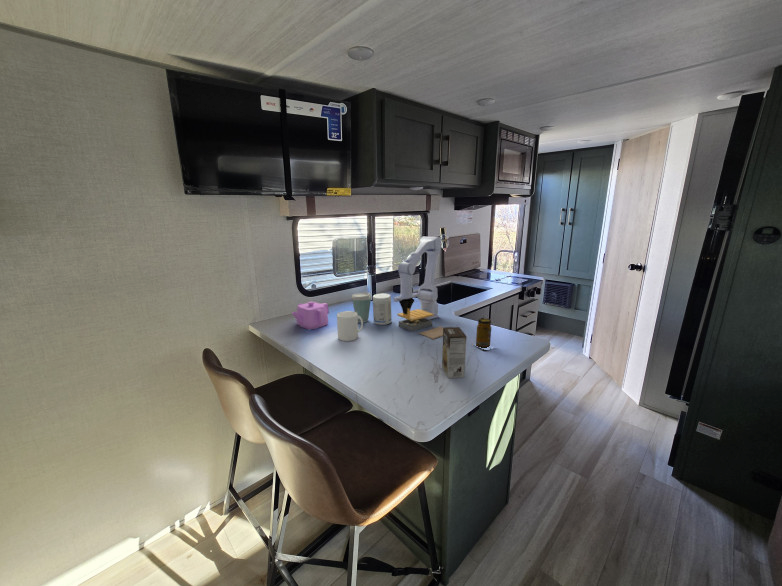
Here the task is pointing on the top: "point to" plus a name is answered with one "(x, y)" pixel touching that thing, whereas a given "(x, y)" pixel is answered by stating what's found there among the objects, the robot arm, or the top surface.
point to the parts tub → (415, 324)
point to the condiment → (483, 333)
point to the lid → (415, 314)
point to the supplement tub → (382, 309)
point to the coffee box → (454, 352)
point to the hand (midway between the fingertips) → (406, 313)
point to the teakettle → (312, 315)
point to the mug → (348, 325)
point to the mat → (433, 333)
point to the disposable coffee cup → (362, 305)
